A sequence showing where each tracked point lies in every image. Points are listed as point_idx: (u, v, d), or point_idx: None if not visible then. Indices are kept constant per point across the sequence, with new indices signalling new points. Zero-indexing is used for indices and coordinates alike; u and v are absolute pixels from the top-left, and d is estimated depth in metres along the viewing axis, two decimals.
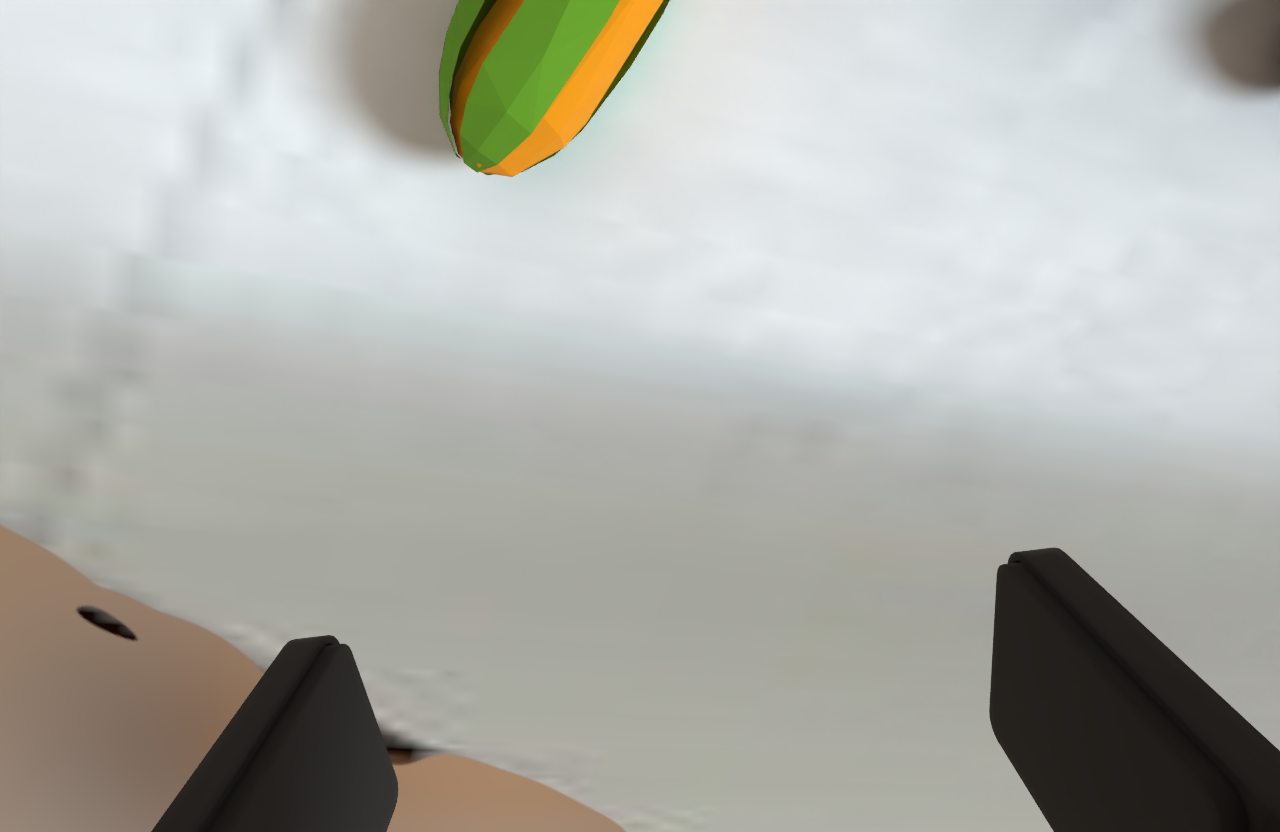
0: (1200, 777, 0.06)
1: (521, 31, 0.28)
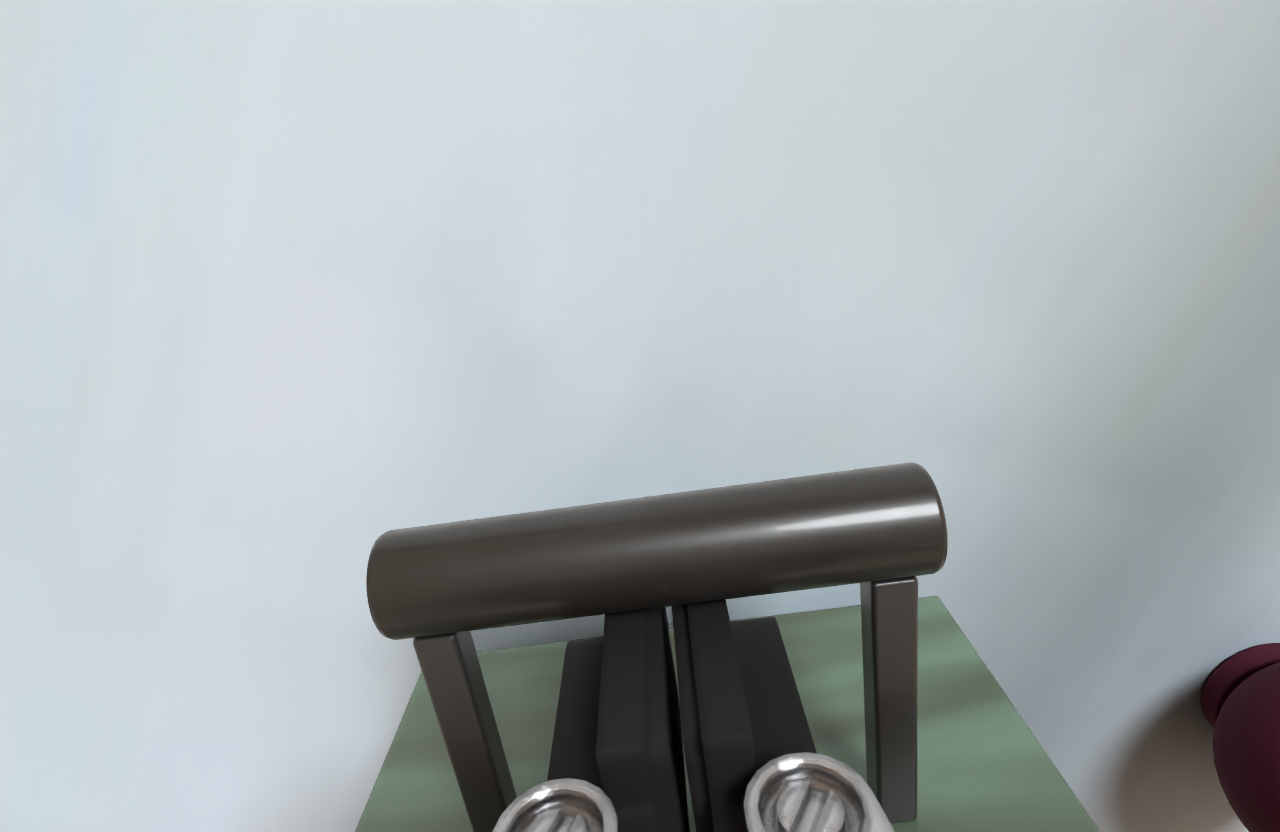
0: (686, 722, 0.07)
1: None
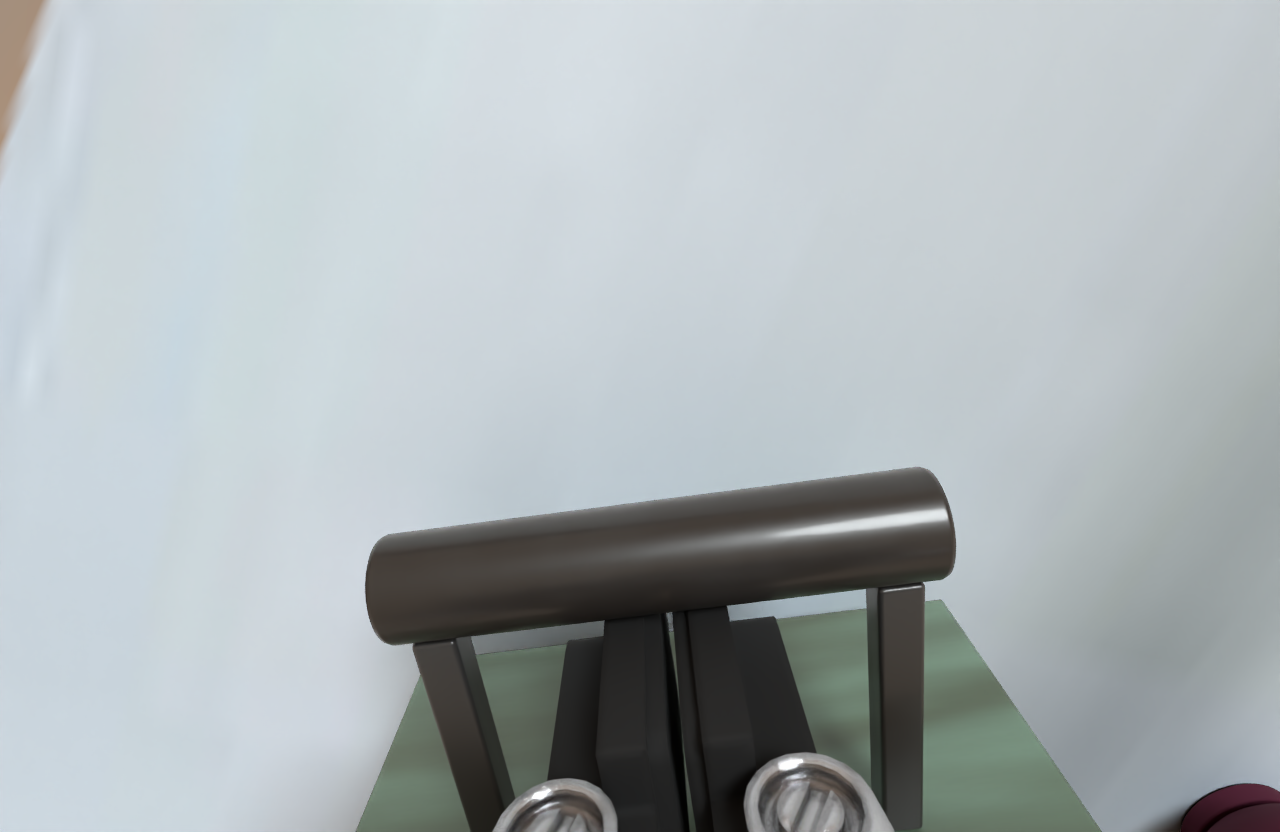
0: (686, 722, 0.07)
1: None
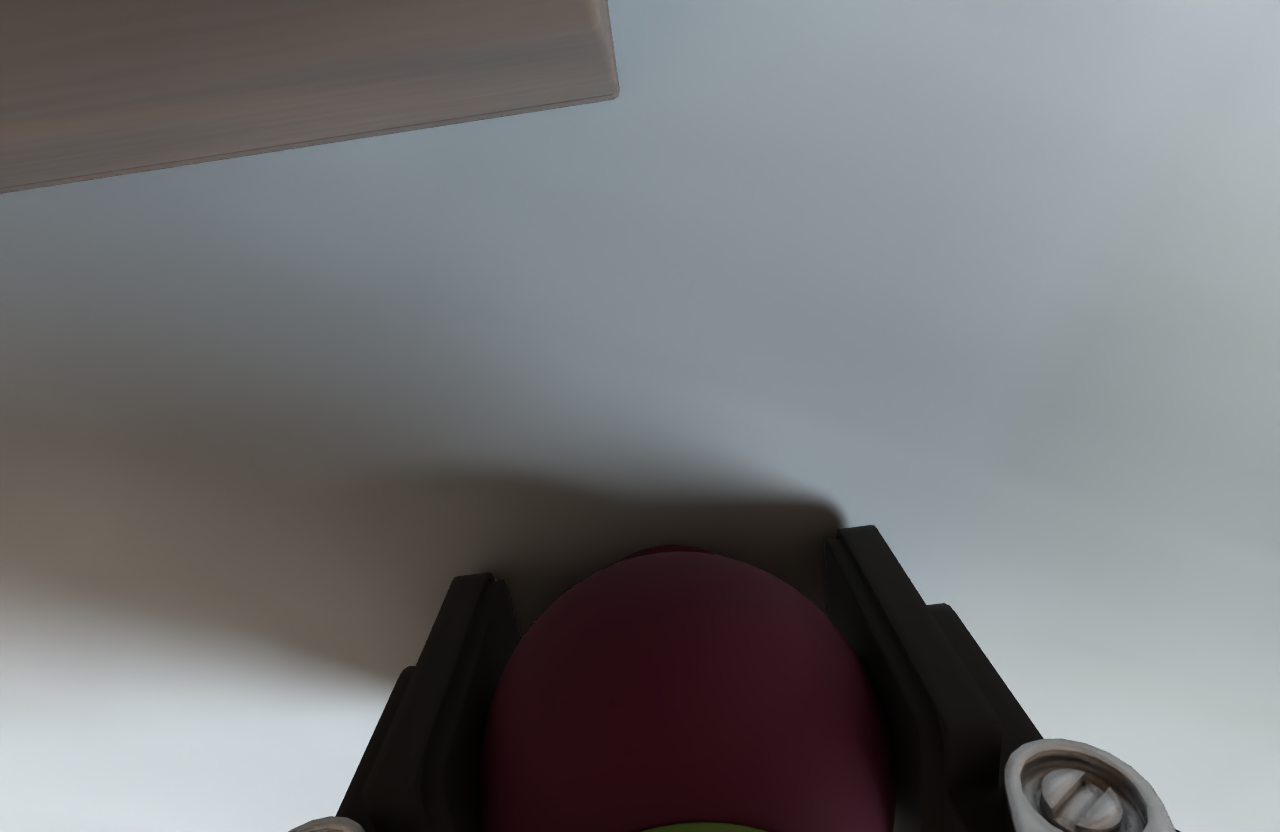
0: (914, 708, 0.07)
1: None
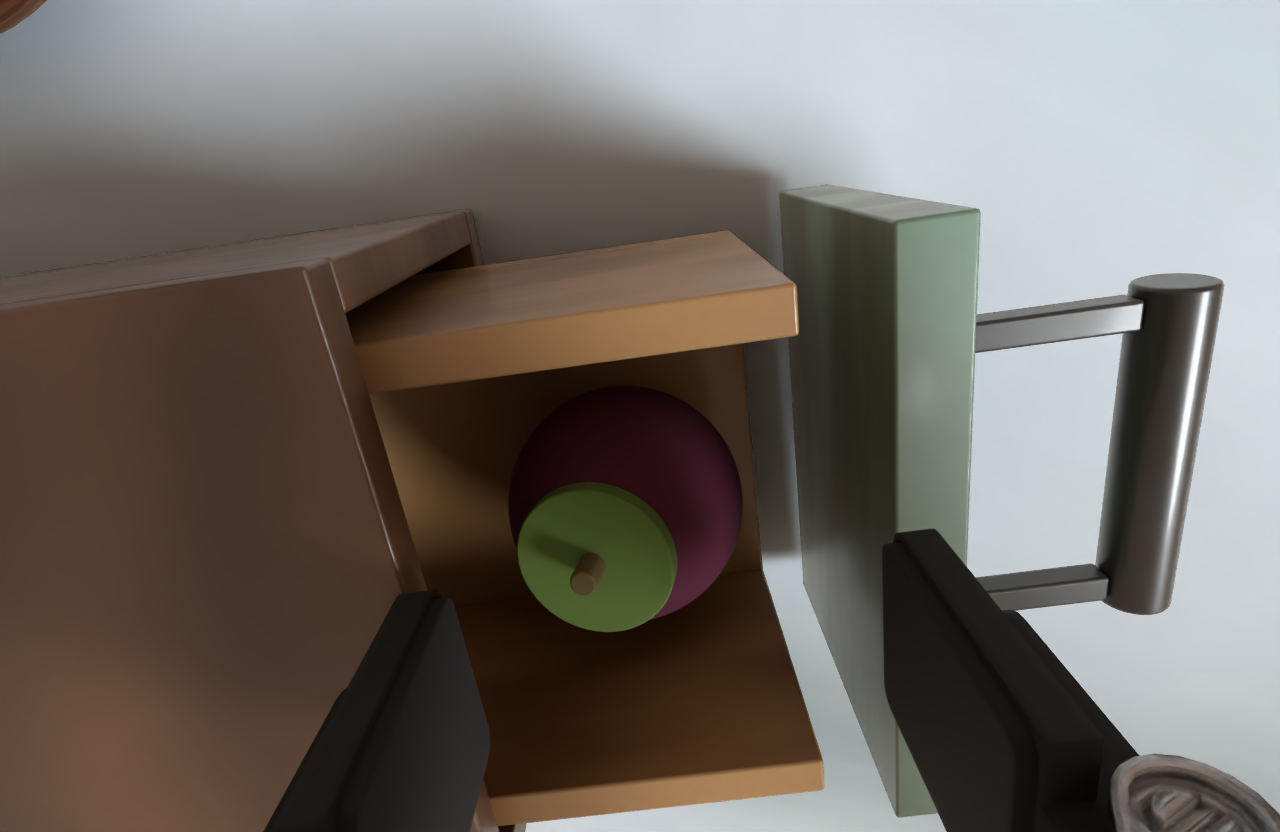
0: (1004, 722, 0.07)
1: None
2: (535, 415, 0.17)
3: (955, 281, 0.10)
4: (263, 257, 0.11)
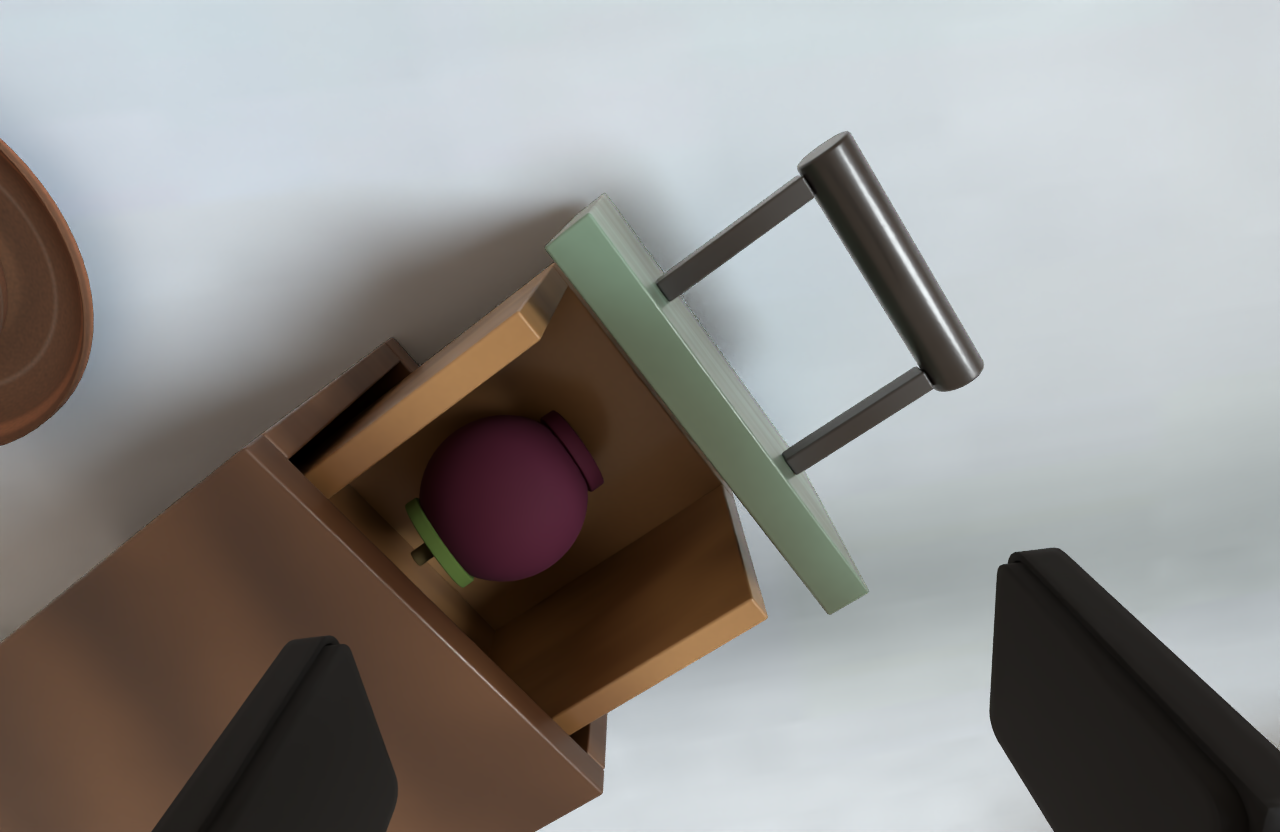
0: (1200, 777, 0.06)
1: None
2: None
3: (604, 260, 0.14)
4: None
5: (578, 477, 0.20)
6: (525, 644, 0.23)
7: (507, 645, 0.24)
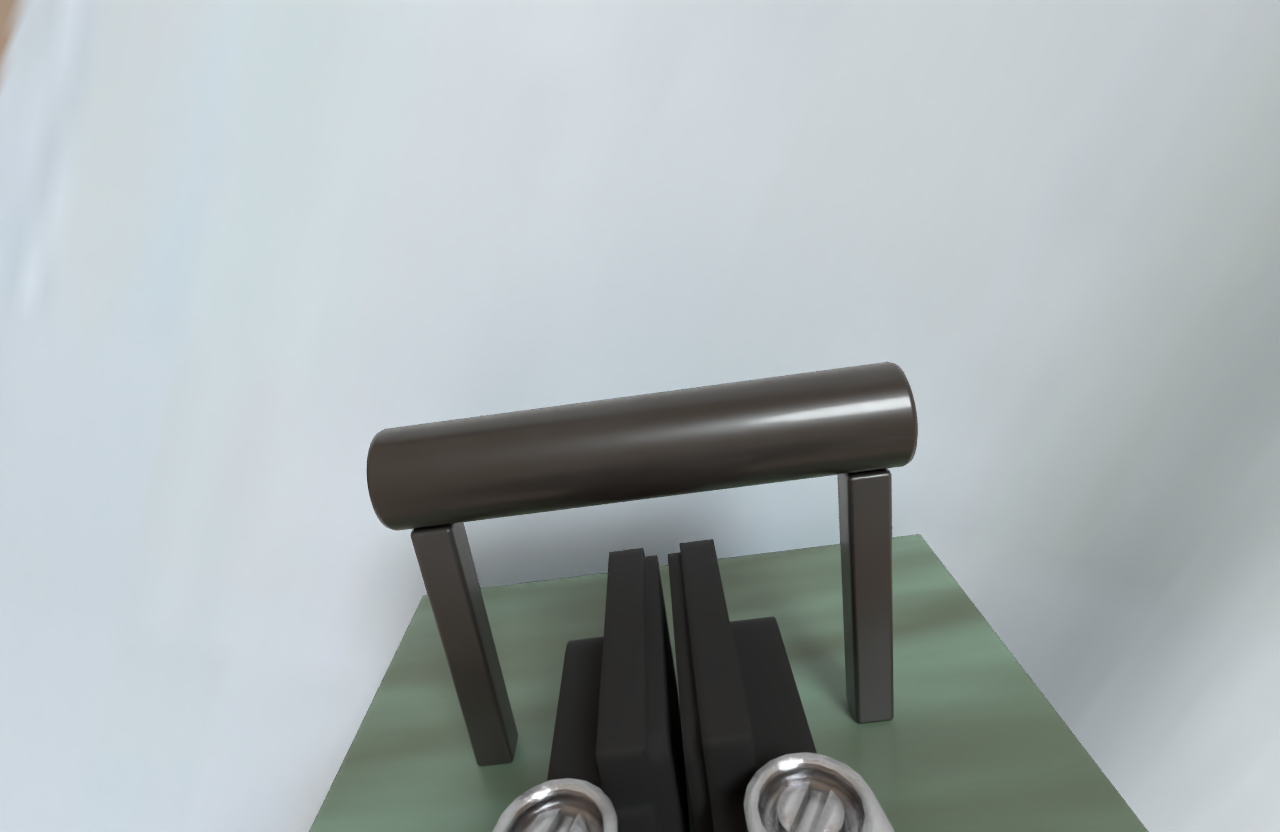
0: (686, 722, 0.07)
1: None
2: None
3: None
4: None
5: None
6: None
7: None
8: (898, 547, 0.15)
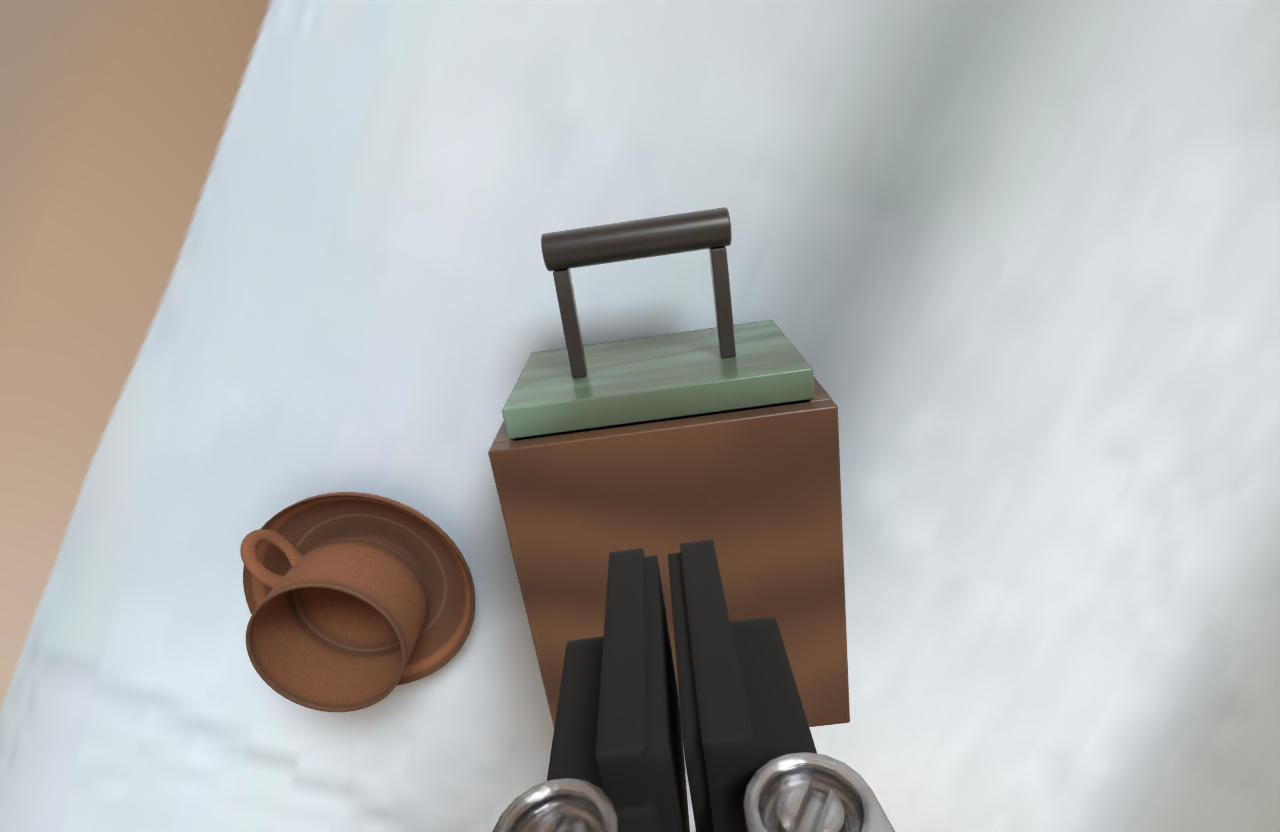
0: (686, 722, 0.07)
1: None
2: None
3: (528, 415, 0.25)
4: None
5: None
6: None
7: None
8: (760, 323, 0.31)
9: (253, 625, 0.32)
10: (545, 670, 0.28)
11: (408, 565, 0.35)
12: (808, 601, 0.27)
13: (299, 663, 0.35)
